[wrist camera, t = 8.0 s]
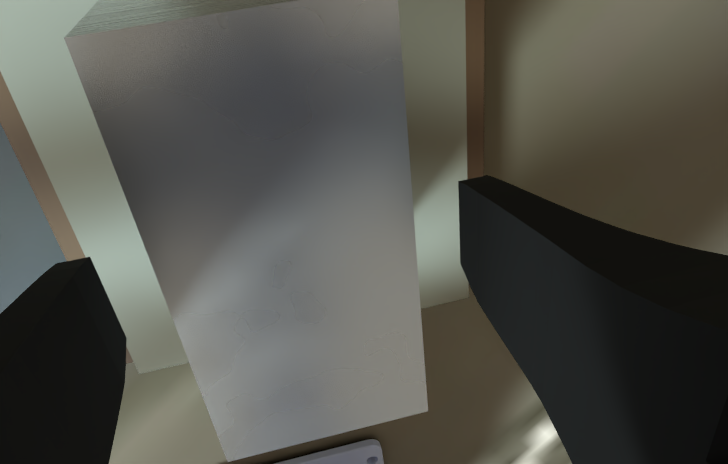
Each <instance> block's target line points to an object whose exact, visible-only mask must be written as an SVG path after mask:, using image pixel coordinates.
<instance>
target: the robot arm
mask: <svg viewBox="0 0 728 464" xmlns="http://www.w3.org/2000/svg"><path fill="white" fill-rule="evenodd" d="M458 190H459V231H460V264H461V266H462V269H463V271H464V273H465V275H466V278H467V280H468V282H469V284H470V287H471V289H472V291H473V293H474V295H475V297H476V299H477V301H478V303H479V305H480V306H481V308H482V309H483V311H484V313H485V314H486V316H487V317H488V319H489V320H490V322H491V323H492V325H493V327H494V328H495V330H496V331H497V333H498V334H499V336H500V337H501V339H502V340H503V342H504V343H505V345H506V346H507V348H508V350H509V351H510V353H511V354H512V356H513V357H514V359H515V360H516V362H517V363H518V365H519V366H520V368H521V369H522V371H523V372H524V374H525V376H526V377H527V379H528V380H529V382H530V383H531V385H532V386H533V388H534V390H535V392H536V393H537V395H538V397H539V398H540V400H541V402H542V403H543V405H544V407H545V409H546V411H547V413H548V415H549V417H550V419H551V421H552V423H553V425H554V427H555V429H556V431H557V433H558V435H559V437H560V439H561V441H562V443H563V445H564V447H565V449H566V451H567V453H568V455H569V457H570V459H571V462H572V464H728V255H723V254H718V253H713V252H708V251H703V250H698V249H693V248H689V247H685V246H680V245H676V244H672V243H668V242H665V241H661V240H658V239H654V238H651V237H647V236H643V235H640V234H636V233H633V232H630V231H627V230H624V229H621V228H618V227H615V226H612V225H609V224H606V223H604V222H601V221H598V220H595V219H592V218H590V217H587V216H585V215H582V214H579V213H577V212H574V211H572V210H569V209H567V208H565V207H562V206H560V205H557V204H555V203H553V202H550V201H548V200H546V199H543V198H541V197H539V196H536V195H534V194H532V193H530V192H527V191H525V190H523V189H521V188H518V187H516V186H514V185H511V184H509V183H507V182H504V181H502V180H499V179H497V178H494V177H491V176H488V175H486V176H481V177H477V178H472V179H467V180H462V181H458ZM126 341H127V338H126V336H125V333H124V331H123V329H122V327H121V324H120V322H119V320H118V318H117V316H116V313H115V311H114V309H113V307H112V304H111V302H110V300H109V298H108V296H107V293H106V291H105V289H104V287H103V284H102V282H101V280H100V278H99V276H98V273H97V271H96V269H95V267H94V264H93V262H92V260H91V258H90V257H86V258H81V259H76V260H71V261H66V262H62V263H57V264H55V265H54V266H52V267H51V268H50V269H49V270H47V271H46V272H45V273H44V274H43V275H42V276H40V277H39V278H38V279H37V280H36V281H35V282H34V283H33V284H32V285H31V286H29V287H28V288H27V289H26V290H25V291H24V292H23V293H22V294H21V295H20V296H19V297H18V298H17V299H16V300H15V301H14V302H13V303H12V304H10V305H9V306H8V307H7V308H6V309H5V310H4V311H3V312H2V313H1V314H0V464H109V459H110V454H111V449H112V445H113V440H114V435H115V430H116V425H117V420H118V415H119V410H120V405H121V400H122V395H123V389H124V383H125V368H126ZM274 464H384V461H383V454H382V449H381V445H380V443H379V441H377V440H375V439H368V440H364V441H360V442H356V443H352V444H348V445H345V446H341V447H337V448H333V449H329V450H325V451H321V452H317V453H313V454H309V455H305V456H302V457H298V458H294V459H290V460H286V461H282V462H278V463H274Z"/></svg>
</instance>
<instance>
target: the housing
mask: <svg viewBox="0 0 728 464" xmlns="http://www.w3.org/2000/svg"><path fill="white" fill-rule="evenodd" d="M64 39H65V42H66V44H67V47H68V50H69V52H70V55H71V57H72V60H73V62H74V65H75V68H76V70H77V73H78V75H79V78H80V81H81V83H82V86H83V88H84V91H85V94H86V96H87V99H88V101H89V104H90V106H91V109H92V112H93V114H94V117H95V119H96V122H97V125H98V127H99V130H100V132H101V135H102V138H103V140H104V143H105V145H106V148H107V151H108V153H109V156H110V158H111V161H112V163H113V166H114V169H115V171H116V174H117V176H118V179H119V182H120V184H121V187H122V189H123V192H124V195H125V197H126V200H127V202H128V205H129V207H130V210H131V213H132V215H133V218H134V220H135V223H136V226H137V228H138V231H139V233H140V236H141V239H142V241H143V244H144V246H145V249H146V251H147V254H148V257H149V259H150V262H151V264H152V267H153V270H154V272H155V275H156V277H157V280H158V283H159V285H160V288H161V290H162V293H163V295H164V298H165V301H166V303H167V306H168V308H169V311H170V314H171V316H172V319H173V321H174V324H175V327H176V329H177V332H178V334H179V337H180V339H181V342H182V345H183V347H184V350H185V352H186V355H187V358H188V360H189V363H190V365H191V368H192V371H193V373H194V376H195V378H196V381H197V383H198V386H199V389H200V391H201V394H202V396H203V399H204V402H205V404H206V407H207V409H208V412H209V415H210V417H211V420H212V422H213V425H214V427H215V430H216V433H217V435H218V438H219V440H220V443H221V446H222V448H223V451H224V453H225V456H226V459H227V461H228V462H230V461H234V460H238V459H242V458H246V457H250V456H254V455H258V454H262V453H266V452H270V451H273V450H277V449H281V448H285V447H289V446H293V445H297V444H301V443H305V442H309V441H313V440H317V439H321V438H325V437H329V436H333V435H336V434H340V433H344V432H348V431H352V430H356V429H360V428H364V427H368V426H372V425H376V424H380V423H384V422H388V421H392V420H396V419H400V418H403V417H407V416H411V415H415V414H419V413H423V412H427V411H428V402H427V388H426V374H425V361H424V347H423V334H422V320H421V307H420V293H419V279H418V266H417V252H416V239H415V225H414V211H413V198H412V184H411V171H410V157H409V144H408V130H407V116H406V103H405V89H404V76H403V62H402V48H401V35H400V21H399V8H398V0H98V1H97V2H96V4H95V5H94V6H93V7H92V8H91V9H90V10H89V11H88V12H87V13H86V14H85V16H84V17H83V18H82V19H81V20H80V21H79V22H78V23H77V24H76V25H75V26H74V27H73V29H72V30H71V31H70V32H69V33H68V34H67V35H66V36H65V37H64Z"/></svg>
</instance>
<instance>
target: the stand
mask: <svg viewBox="0 0 728 464" xmlns="http://www.w3.org/2000/svg"><path fill="white" fill-rule="evenodd" d="M97 1H98V0H0V123H1V125H2V127H3V129H4V131H5V133H6V135H7V137H8V139H9V142H10V144H11V146H12V148H13V150H14V152H15V154H16V156H17V158H18V160H19V162H20V164H21V166H22V169H23V171H24V173H25V175H26V177H27V179H28V181H29V183H30V185H31V187H32V189H33V191H34V193H35V195H36V198H37V200H38V202H39V204H40V206H41V208H42V210H43V212H44V214H45V216H46V218H47V220H48V222H49V225H50V227H51V229H52V231H53V233H54V235H55V237H56V239H57V241H58V243H59V245H60V247H61V249H62V251H63V254H64V256H65V258H66V260H67V261H71V260H76V259H81V258H86V257H90V258H91V260H92V262H93V264H94V267H95V269H96V271H97V273H98V276H99V278H100V280H101V282H102V284H103V287H104V289H105V291H106V293H107V296H108V298H109V300H110V302H111V304H112V307H113V309H114V311H115V313H116V316H117V318H118V320H119V322H120V324H121V327H122V329H123V331H124V333H125V336H126V338H127V341H126V364H127V363H132V362H134V364H135V366H136V368H137V371H138V373H139V374H141V373H146V372H150V371H154V370H159V369H163V368H167V367H172V366H176V365H180V364H185V363H189V360H188V358H187V355H186V352H185V350H184V347H183V345H182V342H181V339H180V337H179V334H178V332H177V329H176V327H175V324H174V321H173V319H172V316H171V314H170V311H169V308H168V306H167V303H166V301H165V298H164V295H163V293H162V290H161V288H160V285H159V283H158V280H157V277H156V275H155V272H154V270H153V267H152V264H151V262H150V259H149V257H148V254H147V251H146V249H145V246H144V244H143V241H142V239H141V236H140V233H139V231H138V228H137V226H136V223H135V220H134V218H133V215H132V213H131V210H130V207H129V205H128V202H127V200H126V197H125V195H124V192H123V189H122V187H121V184H120V182H119V179H118V176H117V174H116V171H115V169H114V166H113V163H112V161H111V158H110V156H109V153H108V151H107V148H106V145H105V143H104V140H103V138H102V135H101V132H100V130H99V127H98V125H97V122H96V119H95V117H94V114H93V112H92V109H91V106H90V104H89V101H88V99H87V96H86V94H85V91H84V88H83V86H82V83H81V81H80V78H79V75H78V73H77V70H76V68H75V65H74V62H73V60H72V57H71V55H70V52H69V50H68V47H67V44H66V42H65V39H64V37H65V36H66V35H67V34H68V33H69V32H70V31H71V30H72V29H73V27H74V26H75V25H76V24H77V23H78V22H79V21H80V20H81V19H82V18H83V17H84V16H85V14H86V13H87V12H88V11H89V10H90V9H91V8H92V7H93V6H94V5H95V4H96V2H97ZM398 8H399V21H400V35H401V48H402V62H403V76H404V89H405V103H406V116H407V130H408V144H409V157H410V171H411V184H412V198H413V211H414V225H415V239H416V252H417V266H418V279H419V293H420V307H421V309H423V308H428V307H432V306H436V305H441V304H445V303H449V302H454V301H458V300H462V299H467V298H469V286H470V284H469V282H468V280H467V278H466V275H465V273H464V271H463V269H462V266H461V264H460V231H459V190H458V181H462V180H467V179H472V178H477V177H481V176H484V19H485V0H398Z"/></svg>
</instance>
